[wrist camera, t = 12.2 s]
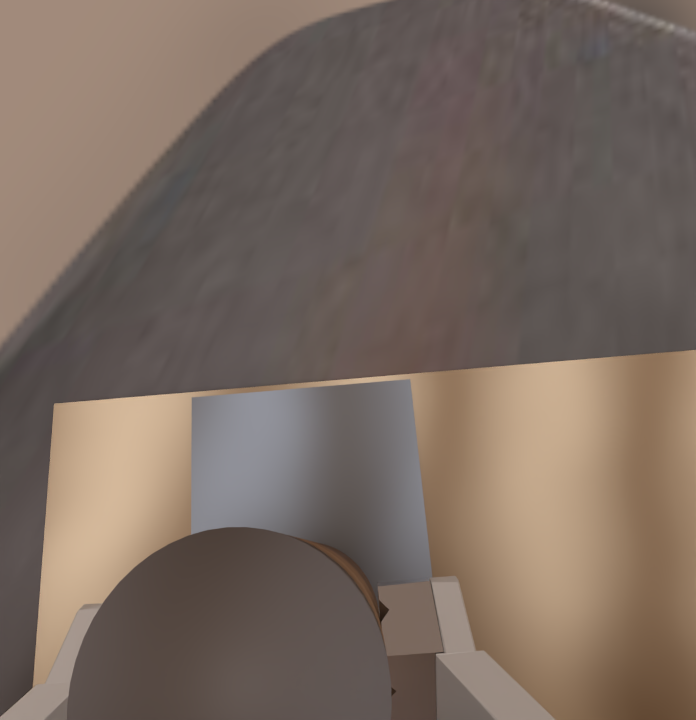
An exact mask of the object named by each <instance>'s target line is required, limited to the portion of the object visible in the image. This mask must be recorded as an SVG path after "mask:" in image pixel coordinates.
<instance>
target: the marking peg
mask: <svg viewBox="0 0 696 720" xmlns="http://www.w3.org/2000/svg"><path fill="white" fill-rule="evenodd" d="M391 710H392V697H391V679H390V672H389V665H388V659H387V653H386V648H385V642H384V637H383V632H382V627H381V623H380V615H379V609H378V604H377V600H376V597H375V593H374V591H373V588H372V586H371V584H370V582H369V580H368V578H367V577H366V575H365V574H364V572H363V571H362V570H361V568H360V567H359V566H358V565H357V564H356V563H355V562H354V561H353V560H352V559H351V558H349V557H348V556H347V555H346V554H344V553H342V552H341V551H339V550H337V549H335V548H333V547H331V546H328V545H325V544H321V543H317V542H313V541H309V540H305V539H301V538H297V537H293V536H289V535H285V534H282V533H278V532H274V531H270V530H266V529H258V528H250V527H225V528H218V529H211V530H206V531H202V532H199V533H195V534H192V535H188V536H186V537H184V538H181V539H179V540H177V541H174V542H172V543H170V544H168V545H166V546H164V547H163V548H161V549H159V550H158V551H156V552H154V553H153V554H151V555H150V556H148V557H147V558H146V559H144V560H143V561H142V562H141V563H139V564H138V565H137V566H135V567H134V568H133V569H132V570H131V571H130V572H129V573H128V574H127V575H126V576H125V577H124V578H123V579H122V580H121V581H120V582H119V583H118V584H117V586H116V587H115V588H114V589H113V590H112V592H111V593H110V594H109V595H108V597H107V598H106V599H105V601H104V602H103V604H102V605H101V607H100V608H99V610H98V612H97V613H96V615H95V616H94V618H93V620H92V622H91V624H90V626H89V628H88V630H87V632H86V634H85V636H84V638H83V641H82V644H81V646H80V649H79V652H78V655H77V658H76V660H75V664H74V669H73V673H72V677H71V681H70V687H69V696H68V704H67V720H391Z"/></svg>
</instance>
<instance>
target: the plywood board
mask: <svg viewBox="0 0 696 720" xmlns="http://www.w3.org/2000/svg"><path fill="white" fill-rule="evenodd" d="M225 527H250V528H258V529H266V530H270V531H274V532H278V533H282V534H285V535H289V536H293V537H297V538H301V539H305V540H309V541H313V542H317V543H321V544H325V545H328V546H331V547H333V548H335V549H337V550H339V551H341V552H342V553H344V554H346V555H347V556H348V557H349V558H351V559H352V560H353V561H354V562H355V563H356V564H357V565H358V566H359V567H360V568H361V570H362V571H363V572H364V574H365V575H366V577H367V578H368V580H369V582H370V584H371V586H372V588H373V591H374V593H375V597H376V600H377V604H378V609H379V599H378V584H377V582H386V581H397V580H408V579H419V578H429V579H430V578H434V577H446V576H456V577H457V579H458V580H459V584H460V588H461V592H462V596H463V600H464V604H465V608H466V612H467V616H468V620H469V624H470V628H471V632H472V636H473V640H474V644H475V648H476V651H483V650H484V651H485V652H486V653H487V654H488V655H490V656H491V657H492V658H493V659H494V660H495V661H496V662H497V663H498V664H499V665H500V666H501V667H502V668H503V669H504V670H505V671H506V672H507V673H508V674H509V675H510V676H511V677H512V678H513V679H514V680H515V681H516V682H517V683H518V684H519V685H520V686H522V687H523V688H524V689H525V690H526V691H527V692H528V693H529V694H530V695H531V696H532V697H533V698H534V699H535V700H536V701H537V702H538V703H539V704H540V705H541V706H542V707H543V708H544V709H545V710H546V711H547V712H548V713H549V714H550V715H551V716H552V717H554V718H555V719H556V720H696V350H690V351H678V352H666V353H654V354H642V355H630V356H618V357H606V358H594V359H582V360H571V361H559V362H547V363H535V364H523V365H511V366H499V367H487V368H475V369H463V370H451V371H439V372H427V373H416V374H404V375H392V376H380V377H368V378H356V379H344V380H332V381H320V382H308V383H296V384H284V385H272V386H261V387H249V388H237V389H225V390H213V391H201V392H189V393H177V394H165V395H153V396H141V397H129V398H117V399H106V400H94V401H82V402H70V403H58V404H54V414H53V427H52V440H51V454H50V467H49V480H48V493H47V507H46V520H45V533H44V546H43V560H42V573H41V586H40V600H39V613H38V626H37V639H36V653H35V666H34V679H33V687H34V686H36V685H37V684H45V682H46V680H47V678H48V675H49V673H50V671H51V669H52V667H53V664H54V662H55V660H56V658H57V655H58V653H59V651H60V649H61V647H62V644H63V642H64V640H65V638H66V635H67V633H68V631H69V629H70V627H71V624H72V622H73V620H74V618H75V615H76V613H77V611H78V610H79V609H80V608H81V607H82V606H83V605H84V604H95V603H103V602H104V601H105V599H106V598H107V597H108V595H109V594H110V593H111V592H112V590H113V589H114V588H115V587H116V586H117V584H118V583H119V582H120V581H121V580H122V579H123V578H124V577H125V576H126V575H127V574H128V573H129V572H130V571H131V570H132V569H133V568H134V567H135V566H137V565H138V564H139V563H141V562H142V561H143V560H144V559H146V558H147V557H148V556H150V555H151V554H153V553H154V552H156V551H158V550H159V549H161V548H163V547H164V546H166V545H168V544H170V543H172V542H174V541H177V540H179V539H181V538H184V537H186V536H188V535H192V534H195V533H199V532H202V531H206V530H211V529H218V528H225ZM379 615H380V611H379Z"/></svg>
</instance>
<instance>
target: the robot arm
mask: <svg viewBox="0 0 696 720" xmlns="http://www.w3.org/2000/svg"><path fill="white" fill-rule="evenodd" d="M377 584H378V599H379V611H380V623H381V627H382V632H383V637H384V642H385V648H386V653H387V659H388V665H389V672H390V679H391V697H392V710H391V720H556V719H555V718H554V717H552V716H551V715H550V714H549V713H548V712H547V711H546V710H545V709H544V708H543V707H542V706H541V705H540V704H539V703H538V702H537V701H536V700H535V699H534V698H533V697H532V696H531V695H530V694H529V693H528V692H527V691H526V690H525V689H524V688H523V687H522V686H520V685H519V684H518V683H517V682H516V681H515V680H514V679H513V678H512V677H511V676H510V675H509V674H508V673H507V672H506V671H505V670H504V669H503V668H502V667H501V666H500V665H499V664H498V663H497V662H496V661H495V660H494V659H493V658H492V657H491V656H490V655H488V654H487V653H486V652H485V651H484V650H483V651H476V648H475V644H474V640H473V636H472V632H471V628H470V624H469V620H468V616H467V612H466V608H465V604H464V600H463V596H462V592H461V588H460V584H459V580H458V579H457V577H456V576H446V577H434V578H430V579H429V578H419V579H408V580H397V581H386V582H377ZM102 604H103V603H95V604H84V605H83V606H82V607H81V608H80V609H79V610H78V611H77V613H76V615H75V618H74V620H73V622H72V624H71V627H70V629H69V631H68V633H67V635H66V638H65V640H64V642H63V644H62V647H61V649H60V651H59V653H58V655H57V658H56V660H55V662H54V664H53V667H52V669H51V671H50V673H49V675H48V678H47V680H46V682H45V684H37V685H36V686H34V687H33V688H32V689H31V690H30V691H29V692H28V693H27V694H25V695H24V696H23V697H22V698H21V699H20V700H19V701H18V702H17V703H15V704H14V705H13V706H12V707H11V708H10V709H9V710H8V711H6V712H5V713H4V714H3V715H2V716H1V717H0V720H67V704H68V696H69V687H70V681H71V677H72V673H73V669H74V664H75V660H76V658H77V655H78V652H79V649H80V646H81V644H82V641H83V638H84V636H85V634H86V632H87V630H88V628H89V626H90V624H91V622H92V620H93V618H94V616H95V615H96V613H97V612H98V610H99V608H100V607H101V605H102Z"/></svg>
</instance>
